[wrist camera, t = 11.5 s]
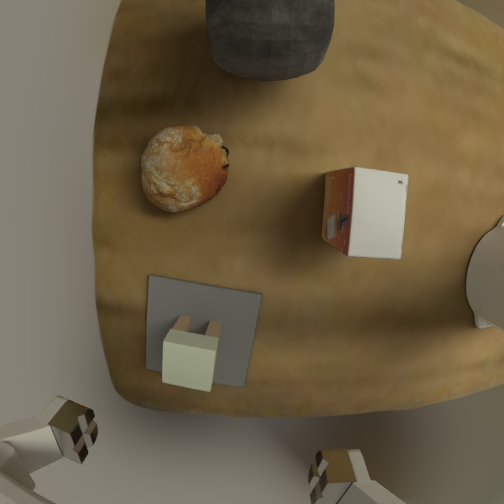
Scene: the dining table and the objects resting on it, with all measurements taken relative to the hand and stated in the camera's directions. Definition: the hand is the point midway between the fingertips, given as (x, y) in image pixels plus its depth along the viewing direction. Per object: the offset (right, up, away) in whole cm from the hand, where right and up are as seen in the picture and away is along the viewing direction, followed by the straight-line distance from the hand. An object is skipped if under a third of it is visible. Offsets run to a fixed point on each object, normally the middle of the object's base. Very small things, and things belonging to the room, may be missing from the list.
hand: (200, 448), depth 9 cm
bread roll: (-6, +17, +25) cm, 31 cm away
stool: (-5, -4, +28) cm, 29 cm away
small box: (+13, +12, +26) cm, 31 cm away
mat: (-5, -4, +29) cm, 30 cm away
